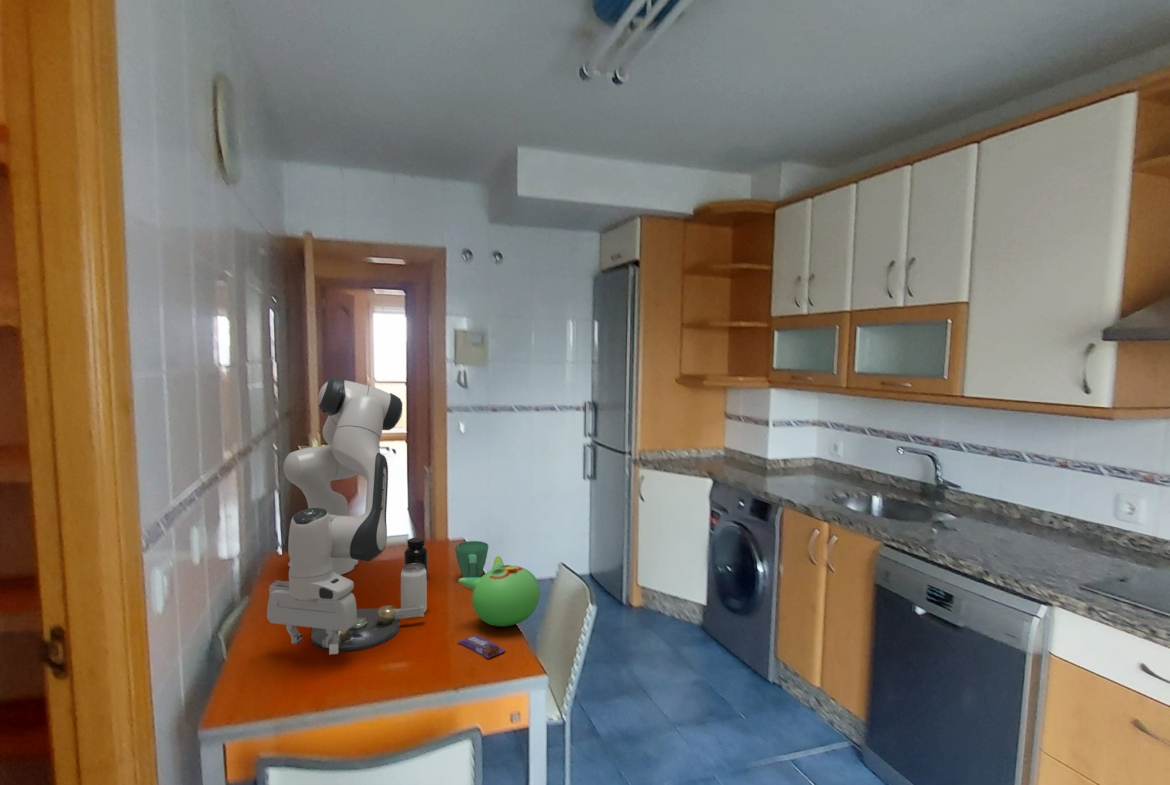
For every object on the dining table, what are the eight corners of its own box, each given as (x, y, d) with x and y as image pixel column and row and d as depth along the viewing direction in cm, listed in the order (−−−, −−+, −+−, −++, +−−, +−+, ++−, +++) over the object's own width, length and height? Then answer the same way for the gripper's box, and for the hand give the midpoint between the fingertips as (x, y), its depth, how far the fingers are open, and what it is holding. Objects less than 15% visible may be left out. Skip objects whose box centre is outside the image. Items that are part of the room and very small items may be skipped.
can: (419, 618, 157) (419, 571, 156) (396, 615, 158) (396, 569, 158) (430, 607, 163) (430, 563, 163) (408, 605, 165) (408, 561, 164)
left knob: (378, 625, 149) (378, 613, 148) (378, 618, 152) (378, 606, 152) (424, 619, 152) (424, 607, 152) (423, 613, 156) (423, 601, 156)
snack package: (457, 637, 143) (474, 631, 147) (457, 646, 143) (474, 639, 147) (488, 654, 136) (505, 646, 139) (488, 662, 136) (505, 655, 139)
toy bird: (510, 643, 144) (511, 582, 143) (455, 627, 152) (455, 569, 151) (551, 615, 159) (552, 560, 158) (499, 602, 168) (499, 549, 167)
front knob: (331, 634, 143) (331, 621, 143) (350, 632, 144) (349, 620, 144) (323, 656, 133) (323, 642, 133) (343, 654, 134) (343, 641, 134)
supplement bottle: (400, 578, 185) (400, 539, 184) (421, 573, 189) (421, 534, 189) (410, 584, 180) (410, 544, 179) (432, 579, 184) (431, 540, 184)
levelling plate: (296, 633, 148) (296, 620, 148) (372, 607, 163) (372, 596, 163) (337, 660, 135) (337, 647, 135) (416, 630, 150) (415, 618, 150)
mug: (454, 574, 189) (454, 542, 188) (487, 571, 191) (487, 540, 191) (456, 591, 175) (455, 557, 174) (490, 589, 177) (490, 555, 176)
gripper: (259, 584, 135) (260, 646, 135) (344, 593, 131) (344, 656, 131) (279, 574, 141) (280, 633, 142) (360, 582, 137) (361, 643, 138)
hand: (312, 644), depth 136 cm, fingers open, 6 cm apart
